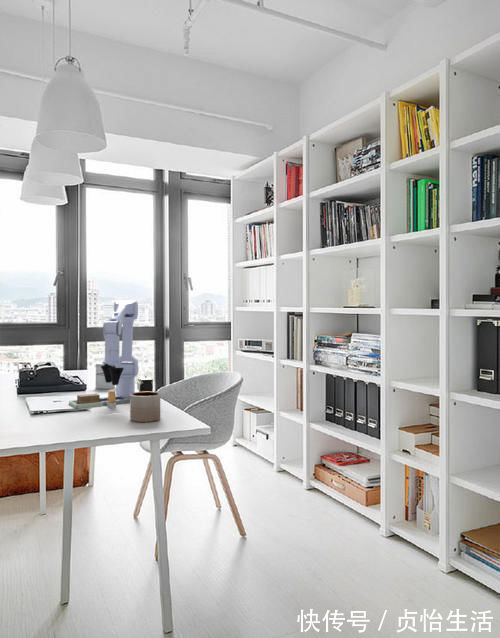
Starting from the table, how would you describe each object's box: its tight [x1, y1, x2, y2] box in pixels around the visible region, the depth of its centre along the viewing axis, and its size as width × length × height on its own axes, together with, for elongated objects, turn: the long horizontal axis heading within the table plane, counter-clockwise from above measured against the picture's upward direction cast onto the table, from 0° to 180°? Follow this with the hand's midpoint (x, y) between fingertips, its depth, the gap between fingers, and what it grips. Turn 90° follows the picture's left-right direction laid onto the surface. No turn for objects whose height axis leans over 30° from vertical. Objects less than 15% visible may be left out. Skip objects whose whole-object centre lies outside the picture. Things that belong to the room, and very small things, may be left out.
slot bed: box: [100, 395, 131, 407], centre depth 213 cm, size 10×12×2 cm
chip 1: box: [76, 393, 90, 404], centre depth 206 cm, size 4×4×4 cm
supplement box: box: [94, 361, 116, 390], centre depth 253 cm, size 7×7×13 cm
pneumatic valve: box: [136, 375, 154, 392], centre depth 214 cm, size 6×12×12 cm, turn 20°
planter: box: [129, 391, 161, 424], centre depth 184 cm, size 11×11×10 cm
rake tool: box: [106, 390, 117, 409], centre depth 204 cm, size 4×3×6 cm, turn 37°
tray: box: [68, 399, 103, 409], centre depth 206 cm, size 10×11×2 cm
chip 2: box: [86, 393, 101, 403], centre depth 208 cm, size 4×4×4 cm
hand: (111, 383), depth 204 cm, fingers open, 7 cm apart
